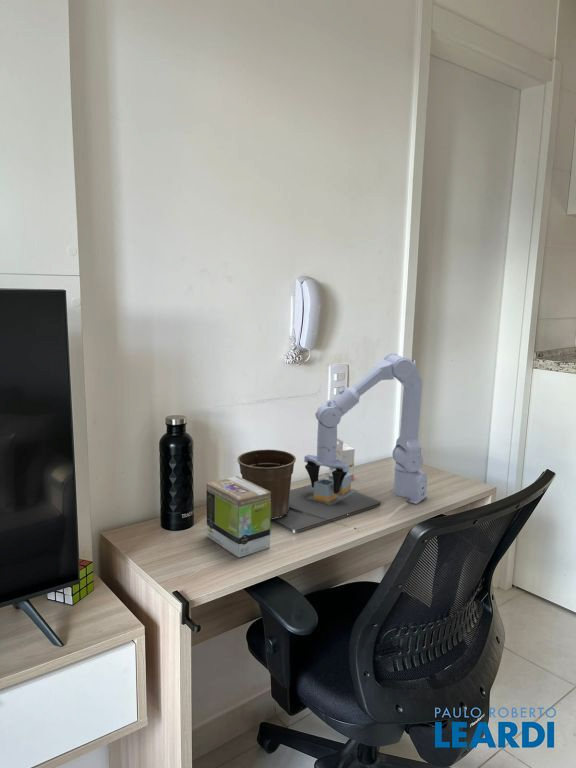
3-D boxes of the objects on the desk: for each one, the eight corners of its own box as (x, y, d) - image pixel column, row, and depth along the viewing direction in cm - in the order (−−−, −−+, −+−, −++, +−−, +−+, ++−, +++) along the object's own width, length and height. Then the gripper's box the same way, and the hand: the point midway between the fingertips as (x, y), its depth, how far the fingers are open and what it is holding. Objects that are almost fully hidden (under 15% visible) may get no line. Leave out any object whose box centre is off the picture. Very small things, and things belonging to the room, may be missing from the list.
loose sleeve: (336, 497, 173) (337, 481, 172) (327, 502, 169) (328, 486, 168) (322, 493, 176) (323, 477, 175) (313, 498, 172) (314, 482, 171)
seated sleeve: (350, 489, 179) (351, 474, 178) (342, 494, 175) (342, 478, 174) (336, 486, 182) (337, 471, 181) (328, 490, 178) (328, 475, 177)
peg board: (357, 494, 179) (358, 481, 178) (331, 509, 167) (332, 495, 166) (332, 487, 184) (333, 474, 183) (306, 501, 172) (306, 488, 171)
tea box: (271, 547, 143) (272, 491, 140) (237, 559, 137) (237, 500, 134) (237, 526, 154) (238, 474, 152) (205, 536, 148) (204, 481, 146)
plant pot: (247, 527, 154) (247, 470, 151) (230, 505, 169) (230, 452, 166) (303, 519, 160) (305, 463, 157) (282, 498, 175) (283, 447, 172)
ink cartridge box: (354, 483, 188) (356, 439, 185) (341, 485, 186) (342, 441, 183) (341, 475, 196) (342, 433, 193) (328, 477, 194) (329, 434, 191)
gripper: (298, 444, 170) (297, 487, 173) (341, 453, 162) (339, 499, 164) (312, 438, 176) (311, 481, 178) (353, 447, 167) (352, 492, 170)
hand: (325, 489), depth 172 cm, fingers open, 7 cm apart
